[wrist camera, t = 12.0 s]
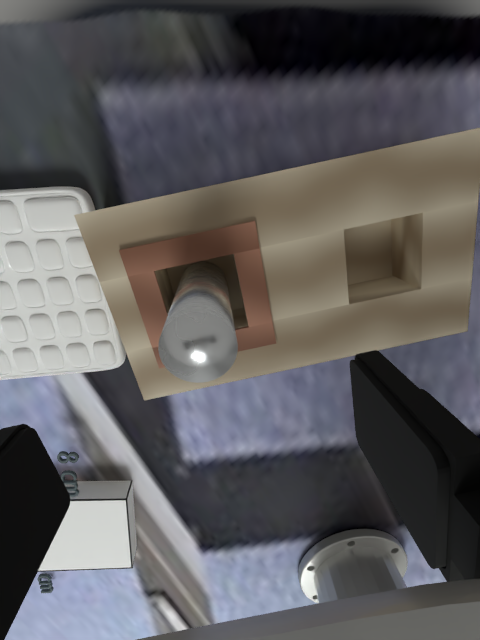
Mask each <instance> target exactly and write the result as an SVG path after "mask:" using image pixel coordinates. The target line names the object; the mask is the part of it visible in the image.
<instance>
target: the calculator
mask: <svg viewBox="0 0 480 640" xmlns="http://www.w3.org/2000/svg"><path fill="white" fill-rule="evenodd" d="M65 196H66V197H65ZM49 197H50V198H49ZM34 198H35V199H34ZM91 211H95V207H94V204H93V201H92V199H91V197H90V195H89V194H88V193H87V191H85V190H83V189H81V188H78V187H43V188H27V189H12V190H0V380H6V379H17V378H28V377H38V376H49V375H60V374H71V373H82V372H92V371H102V370H109V369H114V368H117V367H119V366H120V365H122V364H123V362H124V360H125V357H126V351H125V348H124V345H123V343H122V340H121V338H120V335H119V332H118V330H117V327H116V324H115V322H114V319H113V316H112V314H111V311H110V309H109V306H108V303H107V301H106V298H105V295H104V293H103V290H102V288H101V285H100V282H99V280H98V277H97V274H96V272H95V269H94V266H93V264H92V261H91V259H90V256H89V253H88V251H87V248H86V245H85V243H84V240H83V238H82V235H81V232H80V230H79V227H78V224H77V222H76V219H75V216H74V215H77V214H82V213H86V212H91ZM76 229H77V230H76ZM62 230H64V231H62ZM48 231H50V232H48ZM16 233H17V234H16ZM40 240H41V241H40ZM10 242H11V243H10ZM83 267H84V268H83ZM61 268H62V269H61ZM57 269H58V270H57ZM29 271H30V272H29ZM1 273H2V274H1ZM43 305H44V306H43ZM13 308H14V309H13ZM3 317H4V318H3ZM2 318H3V319H2ZM67 345H68V346H67ZM14 349H15V350H14Z"/></svg>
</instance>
